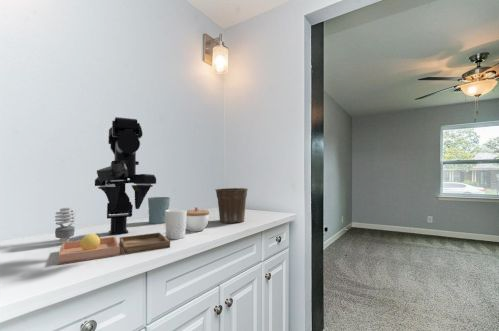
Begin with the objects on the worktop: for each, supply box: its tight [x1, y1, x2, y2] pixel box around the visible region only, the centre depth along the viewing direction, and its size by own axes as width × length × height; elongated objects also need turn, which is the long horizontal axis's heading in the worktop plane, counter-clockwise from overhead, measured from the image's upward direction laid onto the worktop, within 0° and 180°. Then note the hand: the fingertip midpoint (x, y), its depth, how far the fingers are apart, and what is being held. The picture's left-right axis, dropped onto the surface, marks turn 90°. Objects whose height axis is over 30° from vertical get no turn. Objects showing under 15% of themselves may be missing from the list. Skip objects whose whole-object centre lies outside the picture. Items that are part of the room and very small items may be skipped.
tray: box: [119, 232, 171, 255], centre depth 83 cm, size 14×13×2 cm
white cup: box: [164, 208, 187, 240], centre depth 94 cm, size 8×8×10 cm
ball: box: [80, 233, 100, 251], centre depth 75 cm, size 5×5×5 cm
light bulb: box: [54, 207, 76, 244], centre depth 86 cm, size 6×6×12 cm
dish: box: [57, 235, 121, 266], centre depth 75 cm, size 14×14×2 cm
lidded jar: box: [186, 207, 210, 232], centre depth 107 cm, size 11×11×9 cm
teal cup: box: [147, 196, 171, 225], centre depth 124 cm, size 10×10×12 cm
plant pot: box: [214, 187, 249, 224], centre depth 127 cm, size 16×16×16 cm
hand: (125, 209), depth 77 cm, fingers open, 9 cm apart
